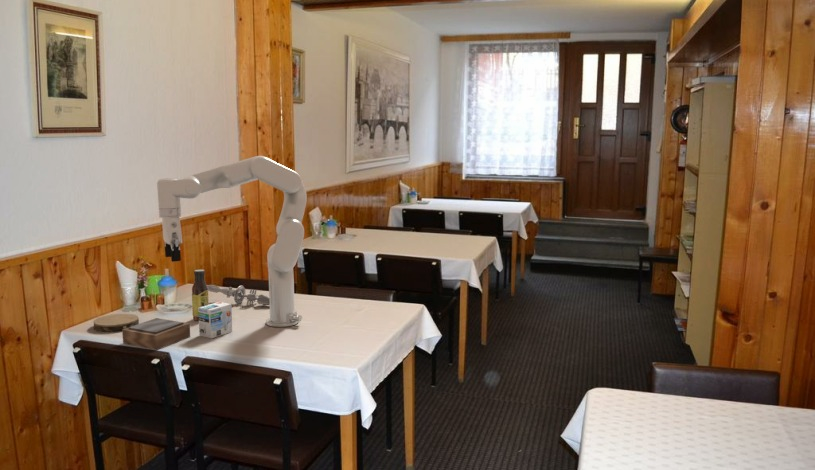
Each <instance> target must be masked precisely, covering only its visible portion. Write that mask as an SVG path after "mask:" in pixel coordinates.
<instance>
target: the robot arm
mask: <svg viewBox="0 0 815 470" xmlns="http://www.w3.org/2000/svg"><path fill="white" fill-rule="evenodd" d="M254 181H260V182H263V183H264V184H267V185H268V186H271V187H272V188H275V189H277V190H279V191H281V192H283V195H284V196H283V197H284V198H283V204H282V208H281V212H280V215H279V218H278V222H277V224H276V227H275V228H276V229H275V230H276V234H277V237H276V241H275V243H273V244H272V245H270V247H269V249H268V250H267V255H266V256H267V257H266V259H267V271H268V297H269V304H270V305H269V318H268V317H267V318H266V320H265V323H266V324H265V325H267V326H270V327H275V328H285V327H286V328H287V327H291V326H294V325H295V326H296V325H297V324H298V323H300V322H302V320H303V315H299V314H298V311H297V310H295V279H294V278H295V277H294V276H295V274H294V267H295V266H296V264H297V261H298V259H299V256H300V252H301V249H302V245H303V241H304V239H305V227H304V225H303V224H302V223H303V219H304V215H305V212H306V211H305V210H306V208H307V199H308V198H307V195H308V194H307V189H306V187H305V185H304V182H303V179H302V177H301V175H300V174H299V173H298V172H297V171H295V170H292V169H290V168H288V167H286V166H285V165H282V164H280V163H277V162H276V161H274V160H272V159H270V158H269V157H267V156H264V155H256V156H252V157H249V158H245V159H242V160H240V161H235V162H231V163H228V164H224V165H221V166H218V167H216V168H213V169H209V170H205V171H201V172H198V173H194V174H191V175H187V176H185V177H184V178H181V179H177V178H175V177H174V178H172V177H171V178H160V179H158V180H157V182H156V186H157V187H156V188H157V190H156V191H157V202H158V215H159V216H158V217H159V218H161V219H162V221H161V222H162V225H161V227H162V236H163V237H162V238H163V241H164V255H165V258H170V259H171V262H173V263H174V262H180V261H182V257H181V247H180V245H181V244H183V233H182V226H181V220H180V217H182V207H181V206H182V205H181V199H190V200H191V199H195V198H197V197H198V198H199V196H200V195H201V194H202V193H206V192H209V191H214V190H219V189H230V188H235V187H239V186H240V185H244V184H248V183H251V182H254Z"/></svg>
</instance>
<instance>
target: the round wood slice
mask: <svg viewBox="0 0 815 470" xmlns="http://www.w3.org/2000/svg"><path fill="white" fill-rule="evenodd" d="M137 324H140V322H139V315H137V314H132V313H114V314H113V313H112V314H109V315H103V316H100V317H97V318H96V319H94V320H93V330H94V331H96V332H99V333H117V332H118V333H119V332H122V330H123V329H126V328H129V327H131V326H134V325H137Z"/></svg>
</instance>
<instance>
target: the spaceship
mask: <svg viewBox="0 0 815 470" xmlns="http://www.w3.org/2000/svg"><path fill="white" fill-rule="evenodd" d="M207 288H208V292H210V293H211V292H212V293H214V294H216V293H217V294H218V293H221V294H223V295H226V298H230V297H233V300H234V303H236V304H241V303H242V302H243V301H244V300H246V305H247V306H251V307H252V306H253V305H254V303H255V302H256V303H257V304H258V305H262V306H270V304H269V295H268V296H267V295H264V294H262V293H261V294H259V295H257V289H256V290H255V289H252V288H251V289H250V290H249V293H247V292H246V288H245V286H244V285H239V286H238V287H237V288H236V289H233V287H232V286H229V287H228V288H225V287H224V288H222V287H220V286H218V285H214V284H207Z"/></svg>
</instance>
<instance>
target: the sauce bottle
mask: <svg viewBox="0 0 815 470" xmlns="http://www.w3.org/2000/svg"><path fill="white" fill-rule="evenodd" d="M193 274H194V283H193V285H192V287H191V305H192V306H191V307H192V316H193V317H192V318H193V320H194V321H196V322H199V315H198V308H199V307H203V306H206V305H210V301H209V300H210V299H209V291H208V288H207V286H208V284H206V280H205V274H206V271H205V269H195V270H194V271H193Z"/></svg>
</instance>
